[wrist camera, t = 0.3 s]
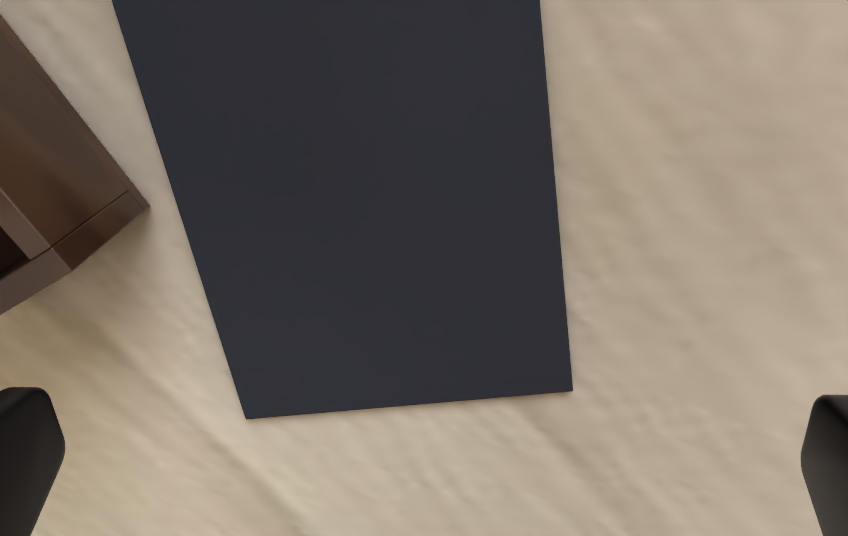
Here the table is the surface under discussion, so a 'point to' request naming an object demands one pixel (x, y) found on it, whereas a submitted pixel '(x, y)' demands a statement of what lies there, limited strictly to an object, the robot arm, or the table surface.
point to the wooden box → (50, 180)
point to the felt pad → (363, 194)
